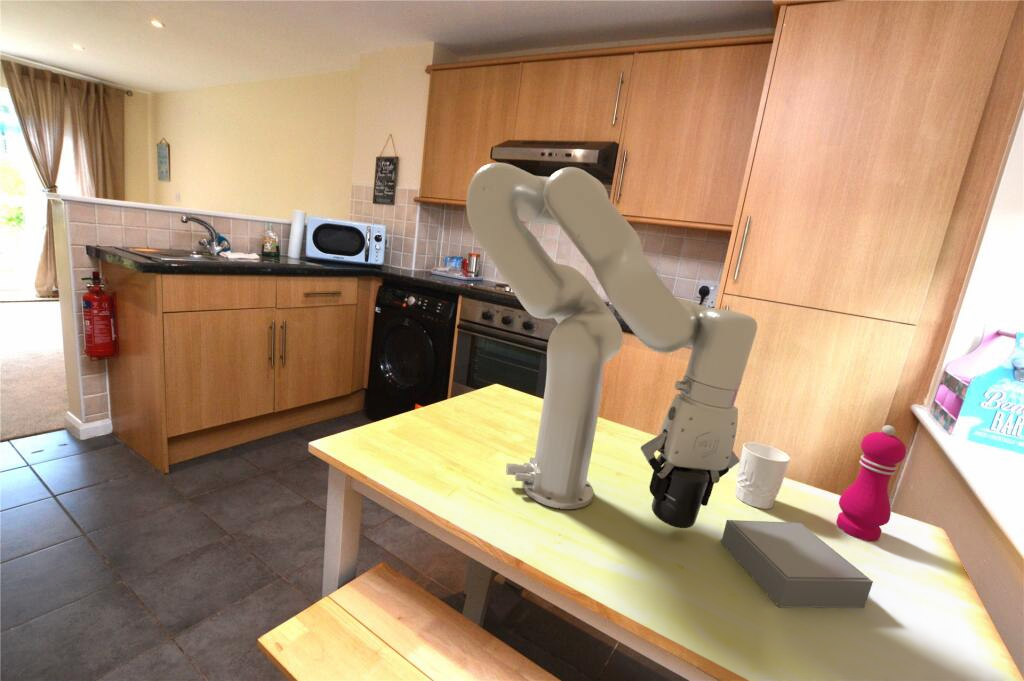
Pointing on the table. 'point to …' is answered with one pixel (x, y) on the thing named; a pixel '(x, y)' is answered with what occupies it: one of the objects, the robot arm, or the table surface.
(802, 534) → the slate riser
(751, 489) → the white cup
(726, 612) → the table surface
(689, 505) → the supplement bottle
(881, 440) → the pepper mill
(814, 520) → the table surface
